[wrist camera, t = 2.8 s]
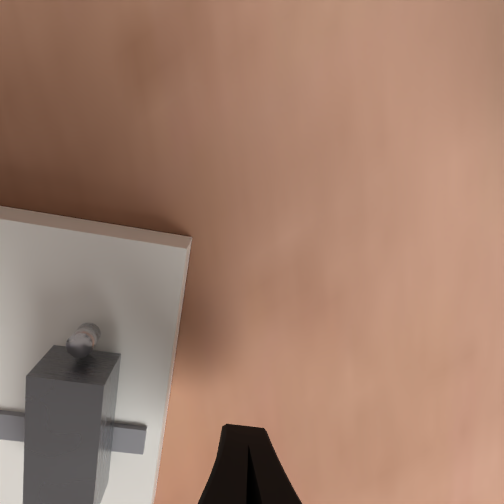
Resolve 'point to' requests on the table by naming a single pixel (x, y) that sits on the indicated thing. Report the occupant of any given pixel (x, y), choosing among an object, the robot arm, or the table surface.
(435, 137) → the table surface
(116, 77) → the table surface
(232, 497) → the robot arm
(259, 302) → the table surface
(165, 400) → the board
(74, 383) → the block
